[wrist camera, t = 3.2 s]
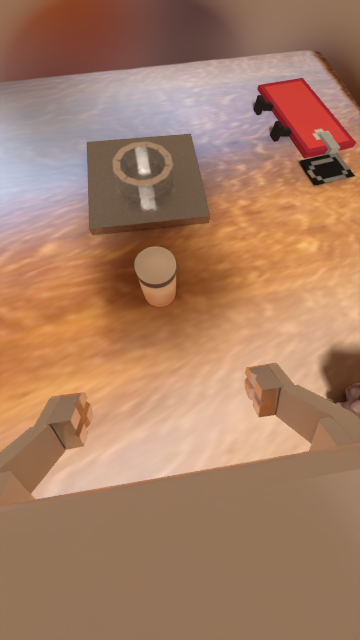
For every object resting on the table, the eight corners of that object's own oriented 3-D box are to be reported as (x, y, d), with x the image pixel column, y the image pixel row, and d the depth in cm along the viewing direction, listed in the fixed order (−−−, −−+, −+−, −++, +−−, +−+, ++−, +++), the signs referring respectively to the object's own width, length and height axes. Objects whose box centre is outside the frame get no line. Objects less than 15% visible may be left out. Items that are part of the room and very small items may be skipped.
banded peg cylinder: (145, 309, 32) (135, 286, 24) (142, 279, 33) (132, 248, 26) (178, 305, 32) (179, 280, 25) (173, 275, 34) (173, 243, 26)
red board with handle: (304, 191, 40) (371, 175, 42) (314, 177, 37) (384, 161, 39) (241, 95, 48) (299, 86, 50) (245, 78, 45) (306, 69, 47)
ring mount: (92, 235, 36) (82, 217, 32) (90, 150, 41) (81, 126, 37) (208, 222, 37) (212, 203, 33) (190, 142, 43) (191, 118, 39)
